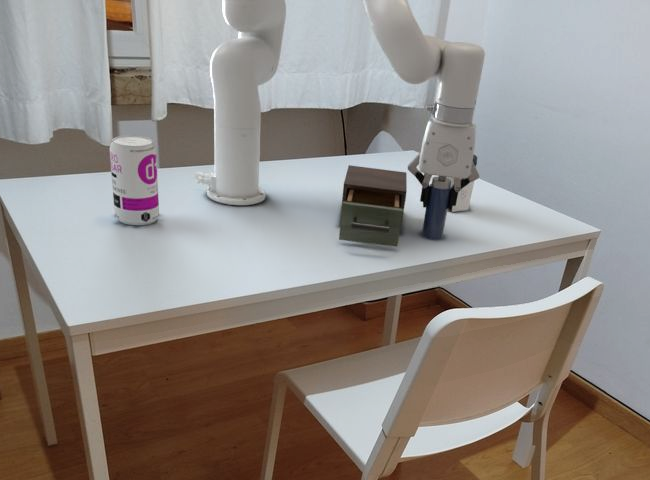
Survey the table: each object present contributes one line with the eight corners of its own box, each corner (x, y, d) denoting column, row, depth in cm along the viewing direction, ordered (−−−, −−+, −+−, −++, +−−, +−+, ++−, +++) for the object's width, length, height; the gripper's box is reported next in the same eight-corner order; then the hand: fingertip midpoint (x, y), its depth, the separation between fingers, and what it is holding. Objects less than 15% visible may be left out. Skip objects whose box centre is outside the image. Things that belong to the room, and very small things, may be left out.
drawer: (397, 255, 126) (402, 218, 122) (336, 248, 126) (340, 210, 122) (398, 224, 140) (403, 190, 137) (343, 217, 140) (347, 183, 137)
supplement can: (168, 218, 132) (165, 141, 124) (139, 230, 126) (134, 149, 118) (135, 208, 135) (130, 132, 127) (105, 219, 128) (98, 140, 120)
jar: (447, 213, 152) (456, 161, 146) (424, 201, 158) (433, 150, 152) (476, 209, 157) (486, 158, 151) (453, 198, 163) (462, 148, 156)
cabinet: (400, 234, 138) (406, 191, 133) (339, 227, 138) (343, 183, 133) (400, 212, 150) (406, 172, 145) (344, 205, 150) (348, 165, 145)
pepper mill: (421, 238, 138) (432, 174, 131) (421, 230, 141) (431, 168, 135) (443, 240, 138) (454, 177, 131) (442, 233, 141) (453, 171, 135)
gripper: (409, 112, 124) (395, 208, 133) (500, 124, 124) (480, 218, 133) (409, 105, 130) (396, 196, 140) (495, 115, 130) (476, 206, 140)
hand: (437, 206), depth 136 cm, fingers closed on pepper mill, 4 cm apart
